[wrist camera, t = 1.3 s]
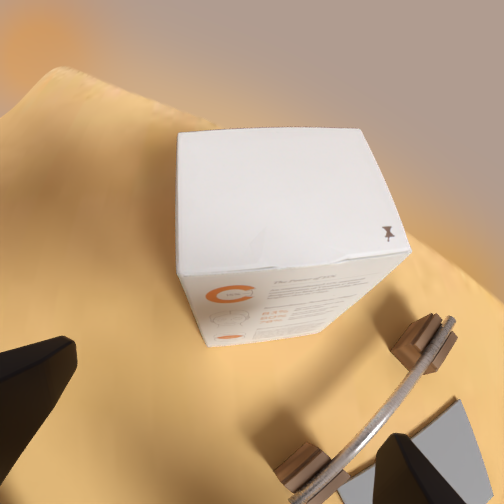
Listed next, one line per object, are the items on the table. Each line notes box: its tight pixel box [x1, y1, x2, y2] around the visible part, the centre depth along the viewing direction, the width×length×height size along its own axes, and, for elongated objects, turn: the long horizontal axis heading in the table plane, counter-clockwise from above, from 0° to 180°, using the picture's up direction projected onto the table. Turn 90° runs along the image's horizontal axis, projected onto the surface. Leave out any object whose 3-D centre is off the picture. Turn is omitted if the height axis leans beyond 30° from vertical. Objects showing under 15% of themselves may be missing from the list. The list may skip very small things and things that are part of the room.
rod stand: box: [273, 313, 458, 504], centre depth 18 cm, size 15×3×3 cm, turn 132°
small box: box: [175, 127, 412, 347], centre depth 17 cm, size 8×6×13 cm
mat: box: [337, 399, 494, 504], centre depth 16 cm, size 12×12×1 cm
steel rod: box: [288, 316, 456, 504], centre depth 16 cm, size 16×1×1 cm, turn 132°
